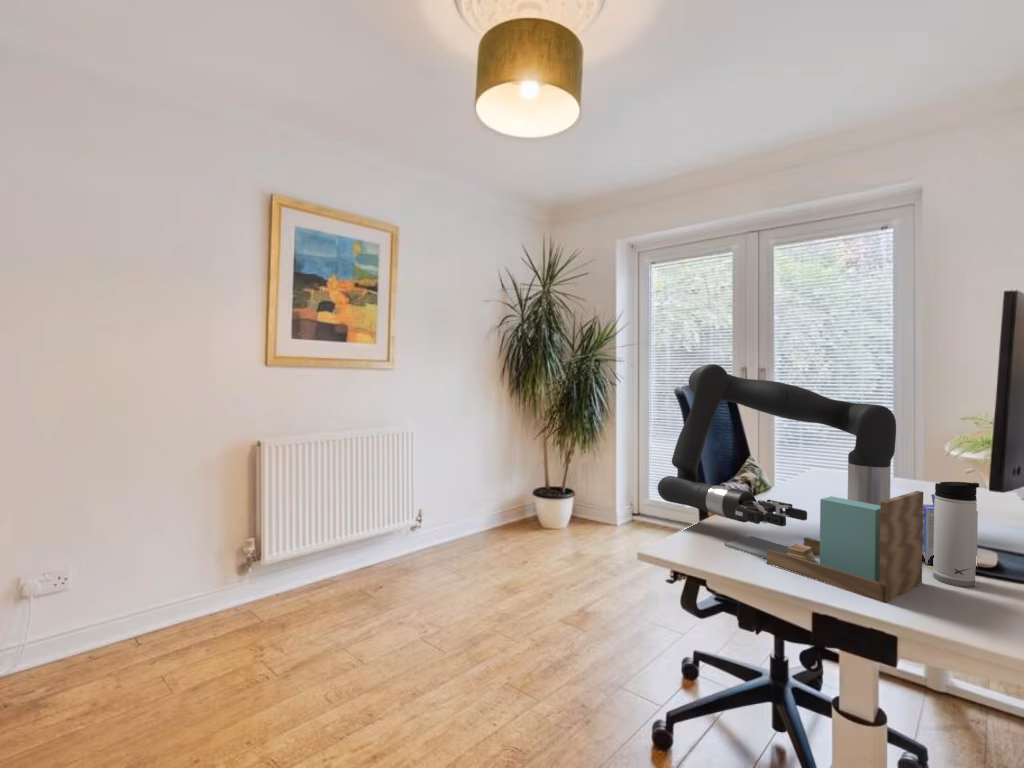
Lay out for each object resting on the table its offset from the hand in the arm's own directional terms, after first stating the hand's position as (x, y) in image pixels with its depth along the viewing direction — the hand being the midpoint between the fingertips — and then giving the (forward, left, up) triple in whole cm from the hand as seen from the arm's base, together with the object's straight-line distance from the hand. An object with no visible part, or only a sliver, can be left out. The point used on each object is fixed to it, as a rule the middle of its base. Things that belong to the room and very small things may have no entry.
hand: (796, 518), depth 111 cm
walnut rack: (0, +9, -9) cm, 13 cm away
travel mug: (-15, +23, -9) cm, 29 cm away
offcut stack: (0, +1, -9) cm, 9 cm away
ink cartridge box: (-26, +18, -9) cm, 33 cm away
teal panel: (0, +11, -9) cm, 14 cm away
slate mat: (0, -8, -9) cm, 12 cm away
